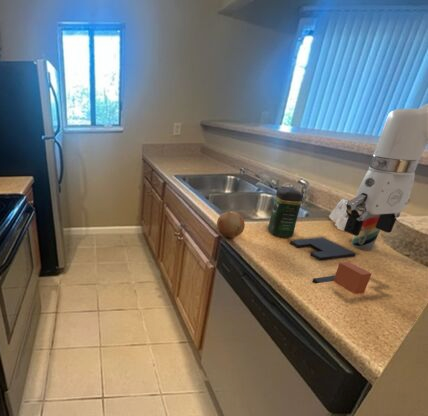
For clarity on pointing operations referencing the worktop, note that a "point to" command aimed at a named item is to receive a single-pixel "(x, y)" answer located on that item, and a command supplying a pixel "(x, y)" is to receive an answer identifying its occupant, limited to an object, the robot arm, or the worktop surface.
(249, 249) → the worktop surface
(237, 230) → the brown ball
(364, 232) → the lotion bottle
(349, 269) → the brown block with handle
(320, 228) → the worktop surface
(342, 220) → the shaker set
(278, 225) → the coffee jar
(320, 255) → the charcoal pad
